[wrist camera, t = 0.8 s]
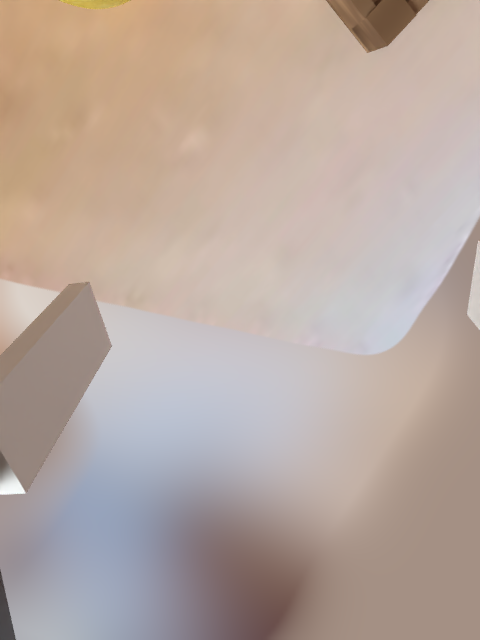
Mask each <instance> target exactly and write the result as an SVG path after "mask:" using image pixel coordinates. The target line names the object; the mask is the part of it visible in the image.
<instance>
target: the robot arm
mask: <svg viewBox="0 0 480 640" xmlns="http://www.w3.org/2000/svg"><path fill="white" fill-rule="evenodd" d="M467 315H468V317H469V318H470V319H471V320H472V321H473V322H474V324H475V325H476V326H477V327H478V328H479V330H480V240H478V245H477V252H476V259H475V265H474V272H473V278H472V285H471V292H470V298H469V305H468V312H467ZM111 347H112V345H111V342H110V339H109V337H108V334H107V331H106V328H105V325H104V322H103V320H102V317H101V314H100V311H99V308H98V305H97V302H96V300H95V297H94V294H93V291H92V288H91V285H90V282H85V283H76V284H69V285H68V286H67V287H66V288H65V289H64V290H63V291H62V292H61V293H60V294H59V295H58V296H57V297H56V299H55V300H53V302H52V303H51V304H50V305H49V306H48V307H47V308H46V309H45V310H44V311H43V312H42V313H41V314H40V315H39V316H38V317H37V318H36V319H35V320H34V321H33V322H32V323H31V324H30V325H29V326H28V327H27V329H26V330H25V331H24V332H23V333H22V334H21V335H20V336H19V337H18V338H17V339H16V340H15V341H14V342H13V343H12V344H11V345H10V346H9V347H8V348H7V349H6V350H5V351H4V352H3V353H2V355H0V495H1V494H21V493H27V491H28V489H29V488H30V486H31V484H32V482H33V481H34V479H35V477H36V476H37V474H38V472H39V470H40V469H41V467H42V465H43V464H44V462H45V460H46V458H47V457H48V455H49V453H50V451H51V450H52V448H53V446H54V445H55V443H56V441H57V439H58V438H59V436H60V434H61V433H62V431H63V429H64V427H65V426H66V424H67V422H68V421H69V419H70V417H71V415H72V414H73V412H74V410H75V409H76V407H77V405H78V403H79V402H80V400H81V398H82V397H83V395H84V393H85V391H86V390H87V388H88V386H89V384H90V383H91V381H92V379H93V377H94V376H95V374H96V372H97V371H98V369H99V367H100V366H101V364H102V362H103V360H104V359H105V357H106V355H107V354H108V352H109V350H110V348H111ZM0 640H16V639H15V635H14V630H13V625H12V621H11V616H10V612H9V607H8V602H7V598H6V593H5V589H4V584H3V580H2V575H1V571H0Z"/></svg>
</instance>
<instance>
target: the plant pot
mask: <svg viewBox="0 0 480 640" xmlns="http://www.w3.org/2000/svg"><path fill="white" fill-rule="evenodd" d="M59 1H62V2H64V3H67V4H71V5H74V6H78V7H82V8H89V9H106V8H112V7H116V6H119V5H122V4H124V3H126V2H128V1H130V0H59Z"/></svg>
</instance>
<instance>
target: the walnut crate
mask: <svg viewBox="0 0 480 640" xmlns="http://www.w3.org/2000/svg"><path fill="white" fill-rule="evenodd" d="M326 1H327V2H328V3H329V5H330V6H331V7H332V8H333V10H334V11H335V12H336V13H337V15H338V16H339V17H340V19H341V20H342V21H343V22H344V24H345V25H346V26H347V27H348V29H349V30H350V31H351V33H352V34H353V35H354V36H355V38H356V39H357V40H358V41H359V43H360V44H361V45H362V46H363V48H364V49H365V50H366V52H367V53H369V52H371V51H374V50H377V49H380V48H383V47H385V46H388V45H389V44H390V43H391V42H392V41H393V40H394V39H395V37H396V36H397V35H398V34H399V33H400V32H401V31H402V30H403V29H404V28H405V27H406V26H407V25H408V24H409V23H410V22H411V20H412V19H413V18H414V17H415V16H416V14H417V13H418V12H419V11H420V10H421V9H422V8H423V7H424V5H425V4H426V3H427V2H428V1H429V0H326Z"/></svg>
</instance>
